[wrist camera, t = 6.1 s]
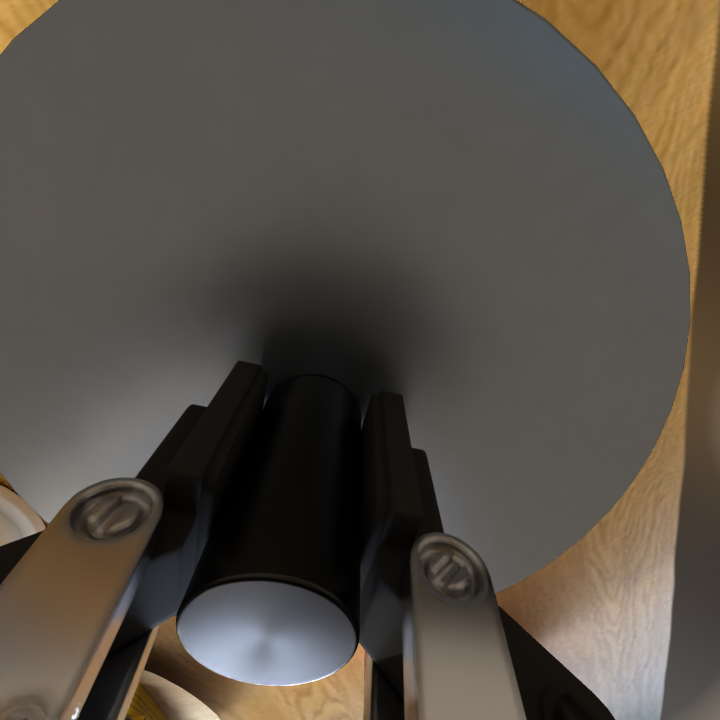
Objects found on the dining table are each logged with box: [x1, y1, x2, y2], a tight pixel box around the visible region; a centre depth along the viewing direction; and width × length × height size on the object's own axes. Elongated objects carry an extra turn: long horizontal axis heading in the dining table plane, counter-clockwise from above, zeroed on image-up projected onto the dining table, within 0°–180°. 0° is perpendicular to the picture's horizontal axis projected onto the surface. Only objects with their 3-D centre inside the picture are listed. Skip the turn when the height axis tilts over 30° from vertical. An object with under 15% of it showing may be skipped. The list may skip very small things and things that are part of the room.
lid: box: [0, 0, 690, 686], centre depth 8 cm, size 19×19×7 cm
